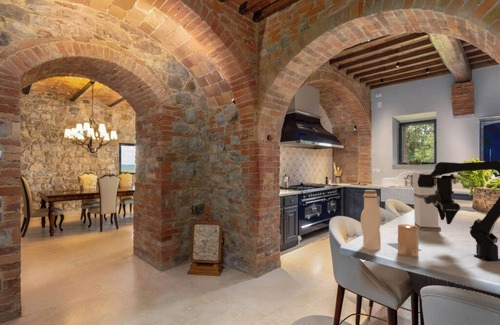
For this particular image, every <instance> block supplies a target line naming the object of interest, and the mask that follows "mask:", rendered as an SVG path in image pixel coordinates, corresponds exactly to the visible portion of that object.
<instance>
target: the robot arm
mask: <svg viewBox="0 0 500 325" xmlns="http://www.w3.org/2000/svg"><path fill="white" fill-rule="evenodd" d="M434 166H435V167H434V169H433V171H431V172H432V173H431V174H419V178H418V186H419V187H423V188H434V186H436V184H437V190H436V191H435V194H430V195H427V196H424V197H423V199H424V202H425V203H426V204H431V203H432V204H433V205H434V206H435V207H436V208H437V209H438V217H439V218H440V220H441V221H444V220H445V221H446V224H447V225H451V224H452V222H453V220H454V218H455V216H456V215H457V214H458V212H459V211H460V210H461V206H460V204H458V202H455V200H453V194H455V193H454V191H453V180H458V178H459V177H457V176H456V175H454V173H459V172H469V171H470V172H471V171H491V170H494V171H496V172H498V174H500V159H499V160H498V159H495V160H492V161H491V160H490V161H489V160H488V161H478V162H477V161H476V162H475V161H472V162H451V161H440V162H437V163H436V164H435V165H434ZM448 174H450V175H448ZM435 176H439V178H438V177H435ZM440 176H441V177H440ZM436 179H437V180H436ZM499 219H500V196H499V197H498V199H497V200H496V201H495V203H494V204H492V207H491V208H490V209H489V210H488V212H487V213H486V215H485V216H484V217H483V218H482V219H480V218H477V219H476V220H474V222H473V224H472V226H470V227H469V229H470V230H469V235H470V236H471V237H472V238H473V239H474V240H475V242H476V246H475V247H476V253H475V254H473V257H476V258H478V259H481V260H484V261H487V262H498V261H500V257H499V245H497V243H498V241H499V237H498V236H496V235H495V234H494V233H493V231H494V228H495V226H496V222H497V221H498V220H499Z"/></svg>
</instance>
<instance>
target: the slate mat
mask: <svg viewBox="0 0 500 325" xmlns="http://www.w3.org/2000/svg"><path fill="white" fill-rule="evenodd" d="M387 245H388V246H389V247H392V248H395V249H396V250H398V242H395V243H394V242H393V243H392V242H391V243H387ZM420 251H421V252H422V251H423V250H422V249H420V248H418V252H420Z"/></svg>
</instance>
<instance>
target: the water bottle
mask: <svg viewBox="0 0 500 325" xmlns="http://www.w3.org/2000/svg"><path fill="white" fill-rule="evenodd" d="M361 196H362V198H363V209H362V211H361V214H360V226H361V231H362V238H363V239H362V241H363V243H362V244H363V246H362V248H364V249H365V250H367V251H380V250H381V249H382V242H381V240H382V239H381V231H380V230H381V229H380V228H381V224H382V212H381V208H380V198H381V197H380V196H381V195H378V194H377V190H376V189H375V190H374V189H366V190H364V193H363V195H361Z"/></svg>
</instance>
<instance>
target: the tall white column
mask: <svg viewBox="0 0 500 325" xmlns="http://www.w3.org/2000/svg"><path fill="white" fill-rule="evenodd" d="M432 172H433V171H430V172H429V171H428V172H426V171H425V172H419V171H413V172H412V173H413V174H412V175H413V176H412V177H413V178H412V180H413V208H414V209H413V210H414V226H417V227H418V230H420V231H432V232H433V231H435V232H437V231H438V232H442V227H441V226H439V212H438V209H437V208H436V207H435V206H434V205H433V204H432V203H431V204H426V203H425V202H424V199H423V197H424V196H427V195H430V194H435V191H436V190H437V184H436V186H434V188H423V187H419V186H418V178H419V174H431V173H432ZM435 177H438V178H440V176H435ZM436 180H437V179H436Z"/></svg>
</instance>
